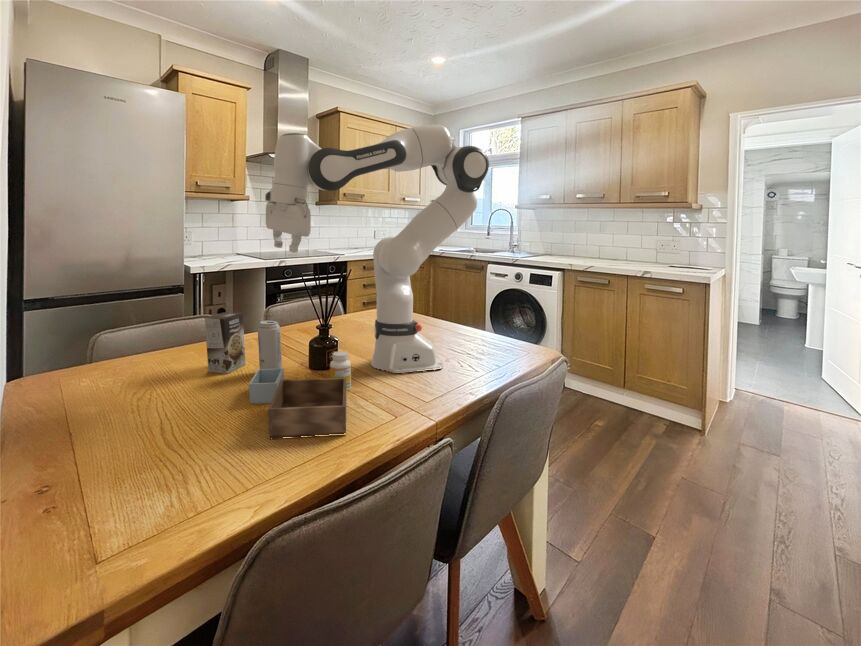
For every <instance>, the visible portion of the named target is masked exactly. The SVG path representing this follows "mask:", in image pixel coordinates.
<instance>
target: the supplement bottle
mask: <svg viewBox="0 0 861 646" xmlns="http://www.w3.org/2000/svg"><path fill="white" fill-rule="evenodd" d="M351 366H352V364H351V361H350V360H349V352H348V351H344V350H343V351H342V350H338V351H334V352H333V353H332V360H331V361H330V363H329V372H330V373H329V379H330V378H346V391H349V390H350V389H351V388H352V373H351V372H352V370H351V368H352V367H351Z"/></svg>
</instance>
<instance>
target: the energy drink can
mask: <svg viewBox="0 0 861 646" xmlns="http://www.w3.org/2000/svg"><path fill="white" fill-rule="evenodd" d="M281 339H282V336H281V326H280V325H279V322H278V321H277V320H271V319H269V320H262V321H260V322H259V325H258V328H257V342H258V343H257V344H258V345H257V346H258V359H259V360H258V361H259V362H258V363H259V364H258V365H259V369H283V364H282V363H283V362H282V340H281Z"/></svg>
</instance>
